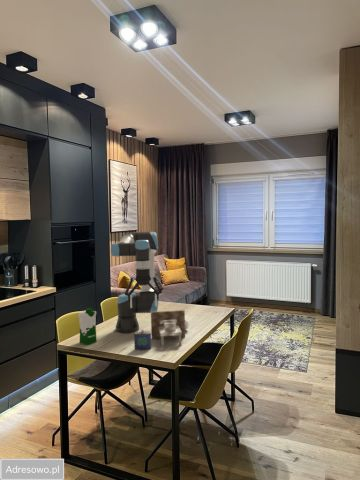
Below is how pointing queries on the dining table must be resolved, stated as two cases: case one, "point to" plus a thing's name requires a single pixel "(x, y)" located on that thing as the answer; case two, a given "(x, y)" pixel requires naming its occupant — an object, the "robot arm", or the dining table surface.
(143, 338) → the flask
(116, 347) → the dining table surface
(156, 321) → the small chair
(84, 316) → the milk carton
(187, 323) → the pretzel
